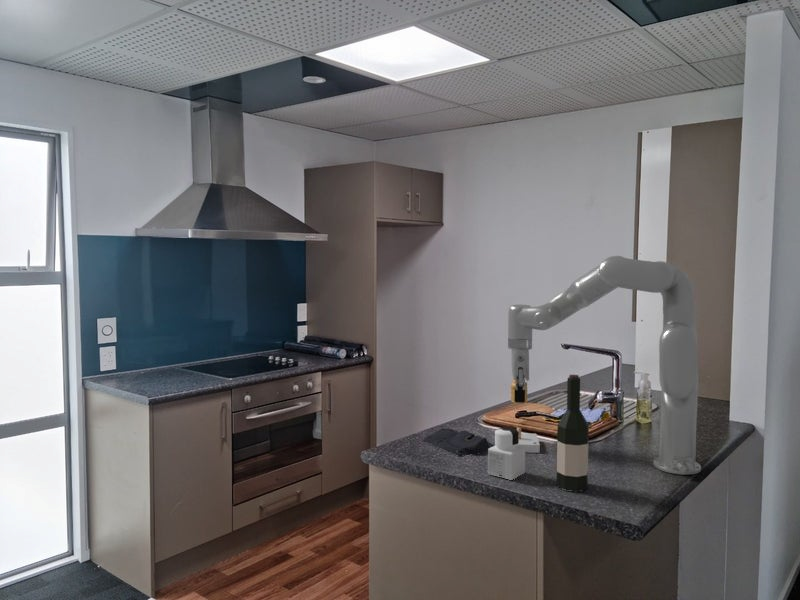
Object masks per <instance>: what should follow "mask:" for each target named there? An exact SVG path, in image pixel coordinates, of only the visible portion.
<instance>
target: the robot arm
mask: <svg viewBox="0 0 800 600" xmlns="http://www.w3.org/2000/svg"><path fill="white" fill-rule="evenodd" d="M618 288H620V289H626V290H633V291H640V292H647V293H651V294H652V293H653V294H654V293H655V294H656V293H658V294H659V293H660V294H661V297H662V321H663V322H662V331H661V334H660V336H659V342H658V348H659V349H658V350H659V351H658V352H659V355H658V356H659V358H658V359H659V362H658V363H659V364H658V365H659V371H658V373H659V375H658V376H659V385H660V388H661V389H660V391H661V393H660V413H659V414H660V419H659V451H658V452H659V453H658V454H659V455H658V457H656V458H654V459H653V466H654V467H655V468H656V469H658V470H659V471H662V472H665V473H669V474H675V475H686V476H688V475H689V476H690V475H696V474H698V473H700V472H701V471H702V465H701V464H700V463H698V462H697V461H696V450H697V449H696V448H697V446H696V444H697V417H698V395H699V372H698V371H699V370H698V369H699V367H698V366H699V365H698V364H699V363H698V356H699V355H698V354H699V353H698V349H699V348H698V345H699V344H698V342H699V340H698V339H699V338H698V332H697V313H696V311H697V309H696V295H695V289H694V287H693V283H692V281H691V280H690V278H689V277H688V275H687V274H686V272H684V271H683V270H681V268H679V267H677V266H676V265H673V264H671V263H669V262H667V261H661V260H659V261H652V260H651V261H650V260H642V259H641V260H640V259H634V258H629V257H628V258H627V257H624V256H621V255H612V256H609V257H607V258H605V259H603V260H602V261H601V263H600V264H598V265H597V266H596V267H594V268H593V269H591V270H589V271H588V272H587V273H585V274H583V275H582V276H580V277H579V278H577V279H576V280H574V281H573V282H572V283H571V284H570V285H569V287H568V288H567V289H566V290H564V291H563V292H561V293H560V294H558V295H557V296H556V297H554V298H553V299H551V300H550V301H548V302H545V303H544V304H542V305H538V306H531V305H529V304H511V305H510V306H509V307H508V315H507V316H508V317H507V320H508V321H507V327H508V329H507V331H508V332H507V338H508V339H507V349H509V350H511V374H512V378H513V381H514V380H515V381H516V390H515V398H514V401H515V402H519V403H518V404H525V403H524V402H525V382H529V381H530V351H529V350H532V349H533V330H536V331H547V330H549V329H551V328H554V327H555V326H557V325H559V324H560V323H561V322H563V321H565V320H566V319H568V318H570V317H571V316H572V315H574V314H575V313H578V312H579V311H581V310H582V309H585V308H587V307H589V306H590V305H592V304H594V303H595V302H597V301H598V300H600V299H602V298H603V297H605V296H607V295H608V294H610V293H611V292H613V291H614V290H616V289H618ZM517 379H519V380H517ZM524 379H525V380H524ZM517 382H519V383H518V384H517Z"/></svg>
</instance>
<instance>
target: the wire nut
mask: <svg viewBox="0 0 800 600" xmlns="http://www.w3.org/2000/svg"><path fill="white" fill-rule="evenodd" d="M517 380H519V379H517ZM524 380H525V402H524V403H523V404H526V403H527V404H528V381H526V379H525V378H524ZM518 383H519V382H517V384H518ZM515 390H516V381H515V380H514V379H513V381H511V383H510V402H511V403H514V404H520V403H519V402H515V401H514V398H515Z"/></svg>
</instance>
